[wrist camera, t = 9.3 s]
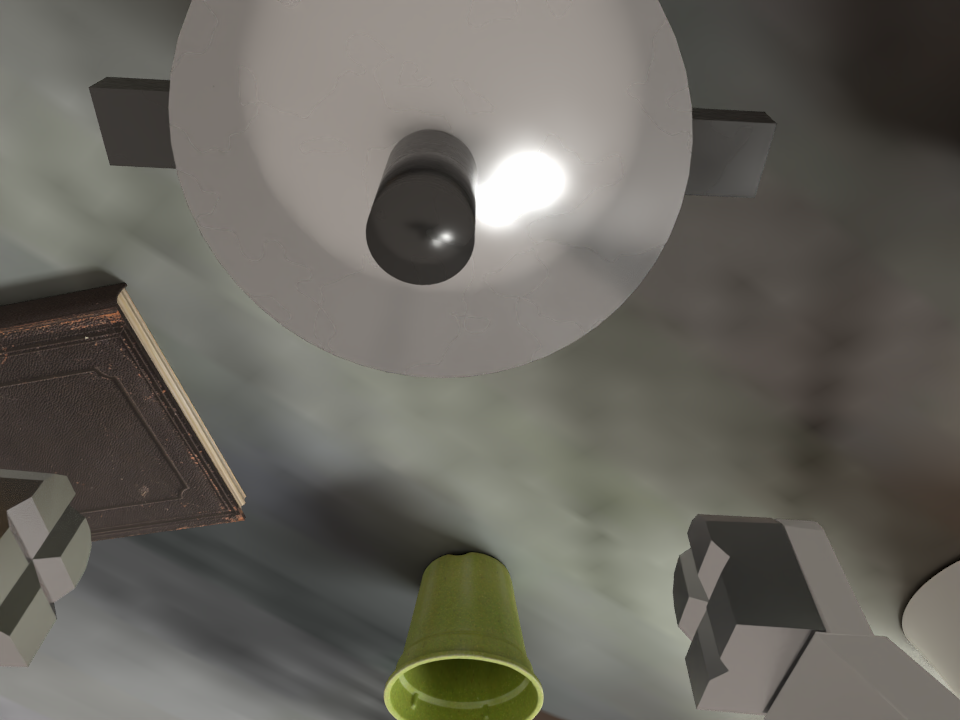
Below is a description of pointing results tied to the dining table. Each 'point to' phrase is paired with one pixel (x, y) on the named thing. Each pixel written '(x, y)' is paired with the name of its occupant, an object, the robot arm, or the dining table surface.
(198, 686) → the dining table surface
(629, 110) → the lid
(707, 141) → the cooker
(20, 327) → the hardcover book
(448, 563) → the plant pot
